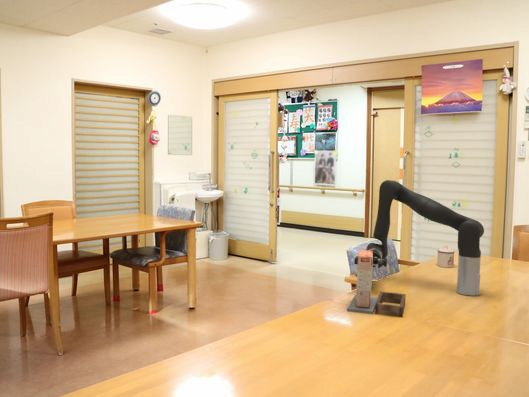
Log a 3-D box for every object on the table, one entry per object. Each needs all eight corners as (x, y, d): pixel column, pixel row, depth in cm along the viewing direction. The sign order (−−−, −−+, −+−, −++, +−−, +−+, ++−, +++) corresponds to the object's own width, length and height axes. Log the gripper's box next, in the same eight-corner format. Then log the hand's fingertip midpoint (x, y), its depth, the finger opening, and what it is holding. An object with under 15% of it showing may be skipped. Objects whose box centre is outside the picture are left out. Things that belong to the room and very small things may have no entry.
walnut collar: (405, 303, 204) (405, 294, 204) (402, 317, 187) (402, 306, 186) (379, 300, 208) (380, 291, 207) (374, 313, 190) (375, 303, 190)
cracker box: (370, 308, 193) (372, 256, 191) (355, 307, 195) (357, 255, 193) (371, 298, 207) (373, 250, 205) (357, 297, 208) (358, 249, 206)
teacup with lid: (450, 268, 268) (451, 248, 267) (434, 266, 274) (435, 245, 273) (458, 265, 277) (459, 245, 276) (442, 262, 283) (443, 243, 282)
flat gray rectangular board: (378, 299, 209) (378, 297, 208) (372, 314, 190) (372, 311, 190) (354, 297, 212) (354, 294, 212) (347, 311, 193) (347, 308, 193)
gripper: (358, 248, 230) (352, 255, 215) (389, 250, 225) (386, 257, 210) (357, 263, 231) (352, 271, 215) (388, 266, 226) (385, 274, 211)
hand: (369, 264), depth 213 cm, fingers open, 8 cm apart
